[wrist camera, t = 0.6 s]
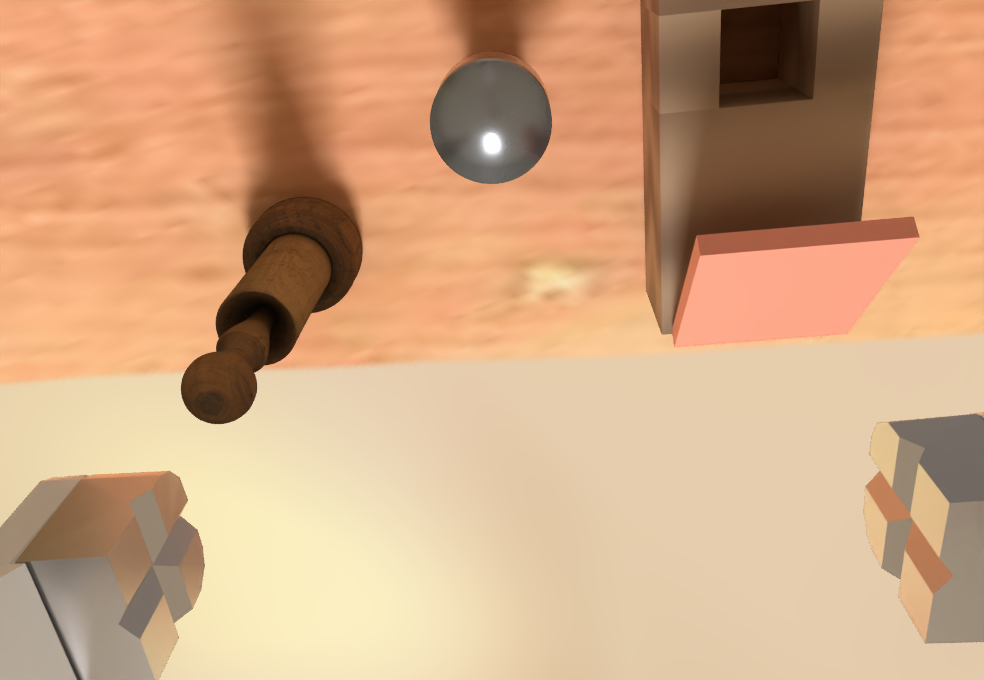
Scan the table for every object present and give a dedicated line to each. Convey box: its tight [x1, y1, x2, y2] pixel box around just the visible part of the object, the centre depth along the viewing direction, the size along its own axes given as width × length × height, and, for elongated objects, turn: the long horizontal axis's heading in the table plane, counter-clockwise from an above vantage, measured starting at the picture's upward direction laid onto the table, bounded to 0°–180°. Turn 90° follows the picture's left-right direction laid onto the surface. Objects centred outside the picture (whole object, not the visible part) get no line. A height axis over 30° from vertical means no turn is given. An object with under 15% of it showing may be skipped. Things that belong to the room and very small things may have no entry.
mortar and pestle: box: [181, 198, 362, 424], centre depth 42 cm, size 7×6×18 cm
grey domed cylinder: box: [430, 51, 552, 184], centre depth 42 cm, size 6×6×8 cm
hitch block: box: [641, 0, 883, 334], centre depth 43 cm, size 18×10×6 cm, turn 6°
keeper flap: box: [672, 217, 919, 347], centre depth 40 cm, size 10×9×1 cm
